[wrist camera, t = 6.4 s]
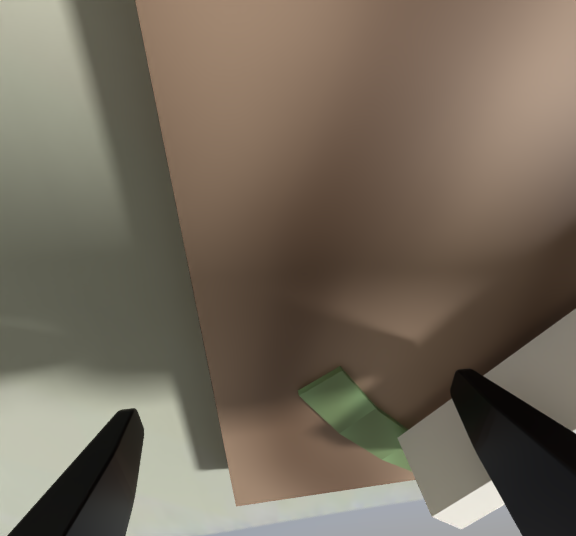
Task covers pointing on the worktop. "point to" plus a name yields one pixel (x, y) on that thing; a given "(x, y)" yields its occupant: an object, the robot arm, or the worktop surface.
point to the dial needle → (454, 439)
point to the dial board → (363, 212)
